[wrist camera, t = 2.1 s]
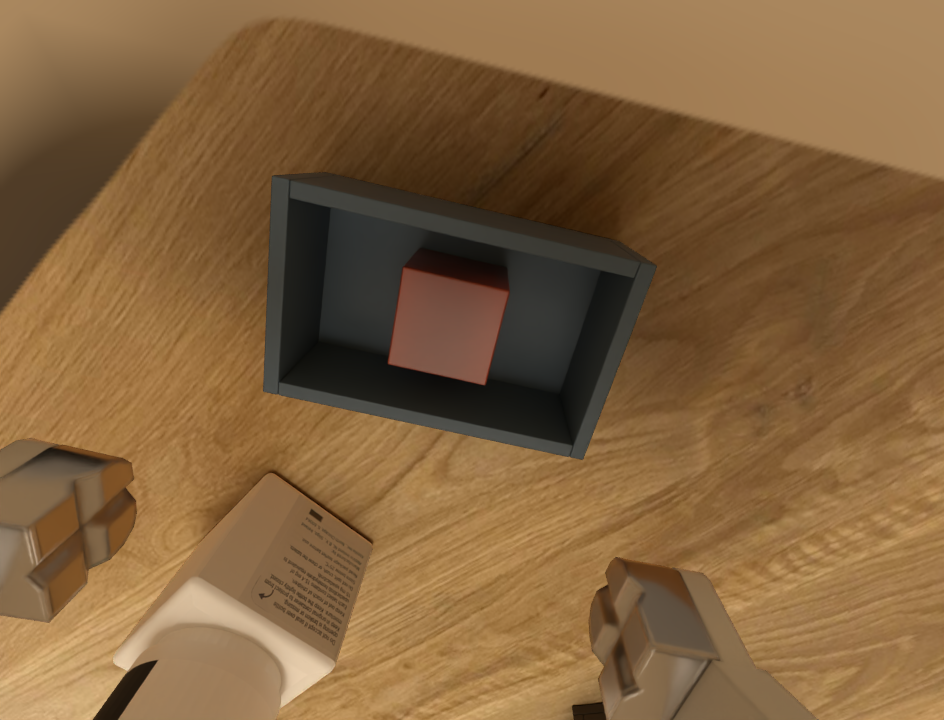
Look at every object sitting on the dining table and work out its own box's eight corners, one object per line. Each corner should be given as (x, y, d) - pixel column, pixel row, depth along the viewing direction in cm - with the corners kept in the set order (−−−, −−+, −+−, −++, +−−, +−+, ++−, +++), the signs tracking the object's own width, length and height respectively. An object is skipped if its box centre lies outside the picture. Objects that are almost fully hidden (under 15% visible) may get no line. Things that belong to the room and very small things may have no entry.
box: (621, 241, 20) (658, 265, 16) (566, 401, 24) (583, 460, 19) (324, 171, 20) (271, 175, 15) (310, 345, 23) (262, 391, 18)
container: (303, 604, 30) (179, 889, 19) (202, 538, 29) (-8, 809, 17) (376, 543, 28) (288, 826, 16) (271, 467, 26) (83, 724, 14)
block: (508, 267, 20) (510, 290, 17) (487, 349, 22) (485, 386, 18) (419, 246, 20) (402, 266, 17) (405, 330, 22) (386, 365, 18)
